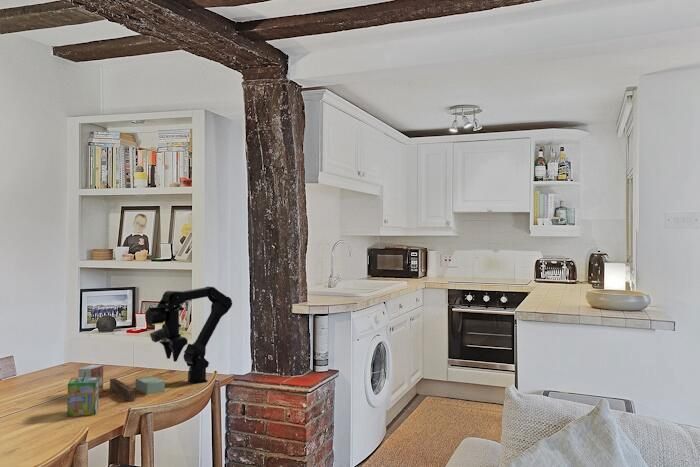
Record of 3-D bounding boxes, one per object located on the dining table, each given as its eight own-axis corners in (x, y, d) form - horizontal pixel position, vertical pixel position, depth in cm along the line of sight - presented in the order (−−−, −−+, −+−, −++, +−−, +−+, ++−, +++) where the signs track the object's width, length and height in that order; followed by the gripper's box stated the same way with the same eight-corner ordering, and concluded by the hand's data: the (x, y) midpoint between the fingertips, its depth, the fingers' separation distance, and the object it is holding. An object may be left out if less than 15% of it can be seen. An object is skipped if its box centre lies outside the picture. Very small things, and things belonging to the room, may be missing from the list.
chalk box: (71, 410, 208) (71, 368, 208) (99, 408, 211) (99, 366, 211) (66, 417, 199) (66, 373, 199) (95, 415, 202) (95, 372, 202)
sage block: (152, 386, 242) (152, 375, 242) (164, 392, 233) (164, 381, 233) (135, 389, 238) (135, 378, 238) (147, 395, 229) (147, 384, 229)
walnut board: (115, 388, 239) (115, 378, 239) (134, 400, 220) (134, 390, 220) (109, 388, 237) (109, 378, 237) (129, 401, 219) (129, 391, 219)
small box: (90, 396, 226) (91, 369, 226) (77, 395, 227) (78, 368, 227) (103, 391, 234) (103, 364, 234) (91, 390, 235) (91, 364, 235)
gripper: (144, 321, 244) (144, 358, 243) (160, 326, 229) (160, 366, 229) (170, 318, 250) (170, 355, 250) (188, 323, 236) (188, 362, 236)
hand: (171, 360), depth 241 cm, fingers open, 7 cm apart
